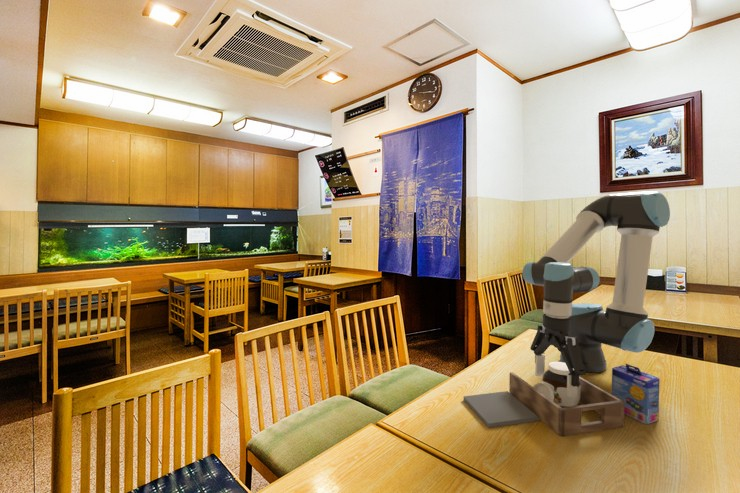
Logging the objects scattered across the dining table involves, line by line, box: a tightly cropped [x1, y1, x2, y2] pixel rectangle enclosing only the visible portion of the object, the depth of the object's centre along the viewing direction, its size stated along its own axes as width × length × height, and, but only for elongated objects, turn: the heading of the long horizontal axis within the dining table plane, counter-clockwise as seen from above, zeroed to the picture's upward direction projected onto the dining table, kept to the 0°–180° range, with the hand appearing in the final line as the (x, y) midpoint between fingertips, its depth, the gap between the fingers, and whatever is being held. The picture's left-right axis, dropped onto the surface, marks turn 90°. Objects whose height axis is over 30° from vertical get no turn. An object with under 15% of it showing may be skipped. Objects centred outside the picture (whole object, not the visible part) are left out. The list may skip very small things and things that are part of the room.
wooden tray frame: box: [508, 371, 625, 437], centre depth 103 cm, size 23×19×7 cm
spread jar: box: [532, 361, 581, 408], centre depth 106 cm, size 12×11×12 cm
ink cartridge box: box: [611, 363, 660, 425], centre depth 100 cm, size 10×6×14 cm, turn 23°
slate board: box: [463, 390, 539, 429], centre depth 104 cm, size 15×15×1 cm
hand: (554, 385), depth 105 cm, fingers open, 13 cm apart
